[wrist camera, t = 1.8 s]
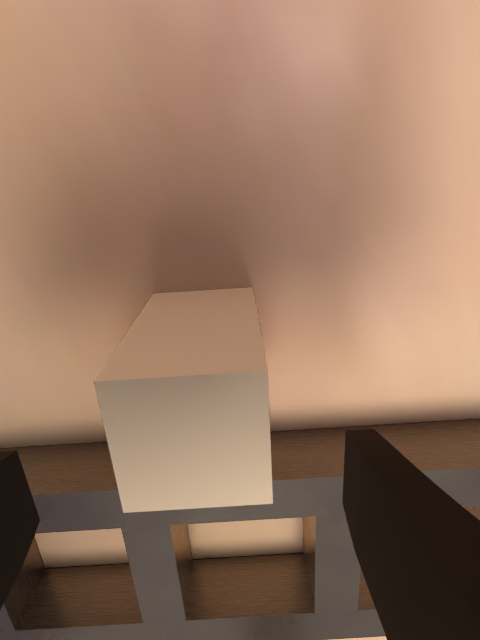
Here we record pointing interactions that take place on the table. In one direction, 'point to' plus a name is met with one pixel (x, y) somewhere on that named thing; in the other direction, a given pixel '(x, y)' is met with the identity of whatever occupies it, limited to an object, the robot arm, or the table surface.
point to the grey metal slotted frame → (221, 573)
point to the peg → (189, 404)
